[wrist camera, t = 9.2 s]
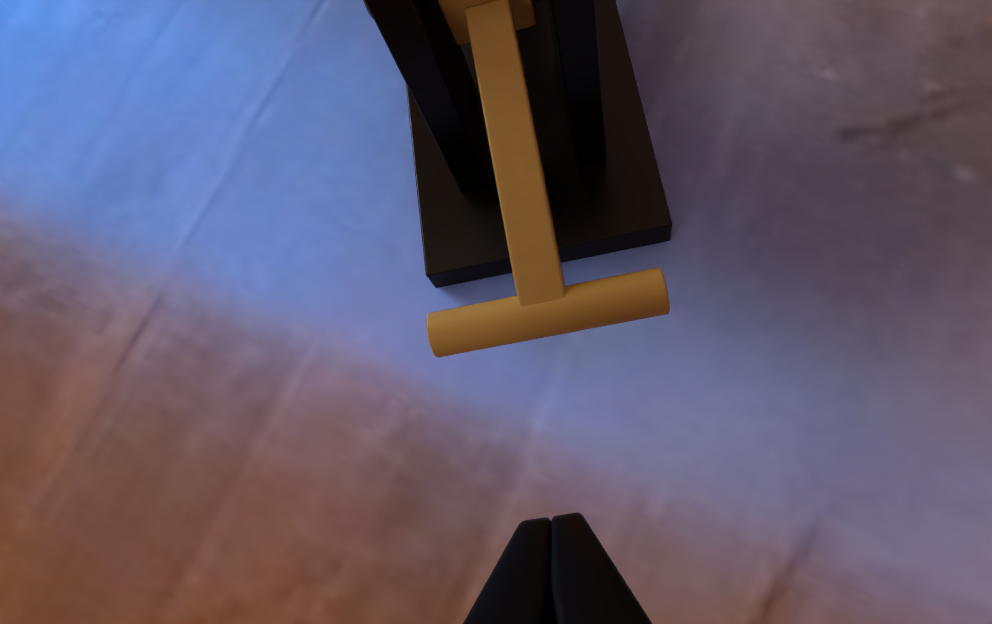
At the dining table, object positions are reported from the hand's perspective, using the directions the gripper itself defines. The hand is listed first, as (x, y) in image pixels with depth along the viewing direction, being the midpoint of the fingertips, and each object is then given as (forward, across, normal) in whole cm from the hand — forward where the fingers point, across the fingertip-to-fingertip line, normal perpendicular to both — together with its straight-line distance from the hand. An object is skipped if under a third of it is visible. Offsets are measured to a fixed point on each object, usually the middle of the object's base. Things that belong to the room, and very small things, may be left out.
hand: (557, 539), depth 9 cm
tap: (+17, 0, -2) cm, 18 cm away
